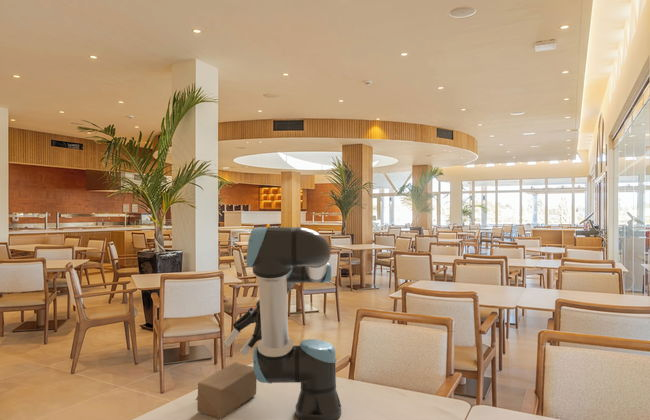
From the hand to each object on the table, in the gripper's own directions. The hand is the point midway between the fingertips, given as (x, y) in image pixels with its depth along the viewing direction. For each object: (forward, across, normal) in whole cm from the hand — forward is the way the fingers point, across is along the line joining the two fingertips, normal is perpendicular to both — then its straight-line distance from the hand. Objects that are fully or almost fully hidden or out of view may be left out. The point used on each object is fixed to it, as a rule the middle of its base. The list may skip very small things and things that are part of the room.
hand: (234, 349), depth 172 cm
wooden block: (+5, -4, -9) cm, 11 cm away
